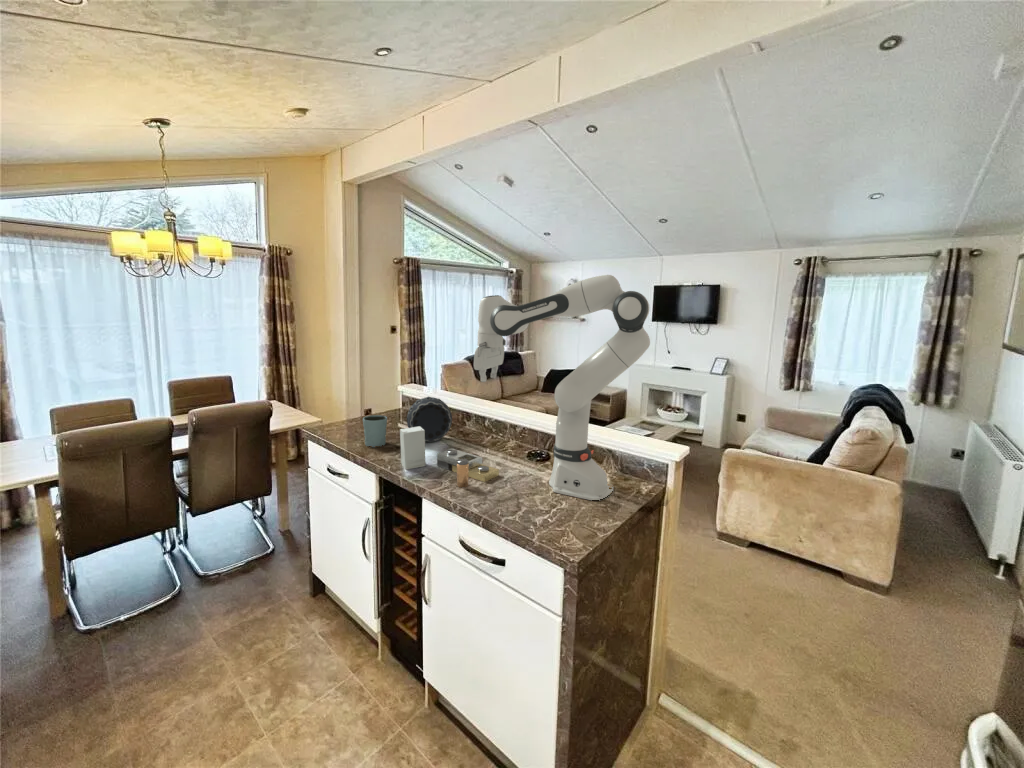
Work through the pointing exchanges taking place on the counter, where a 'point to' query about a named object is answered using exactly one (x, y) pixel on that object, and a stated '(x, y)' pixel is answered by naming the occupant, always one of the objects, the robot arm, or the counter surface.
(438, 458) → the chain joint
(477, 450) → the counter surface
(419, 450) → the skincare box
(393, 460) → the counter surface
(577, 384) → the robot arm
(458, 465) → the pin
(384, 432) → the teal plant pot
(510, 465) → the counter surface
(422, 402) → the scalloped baking dish
